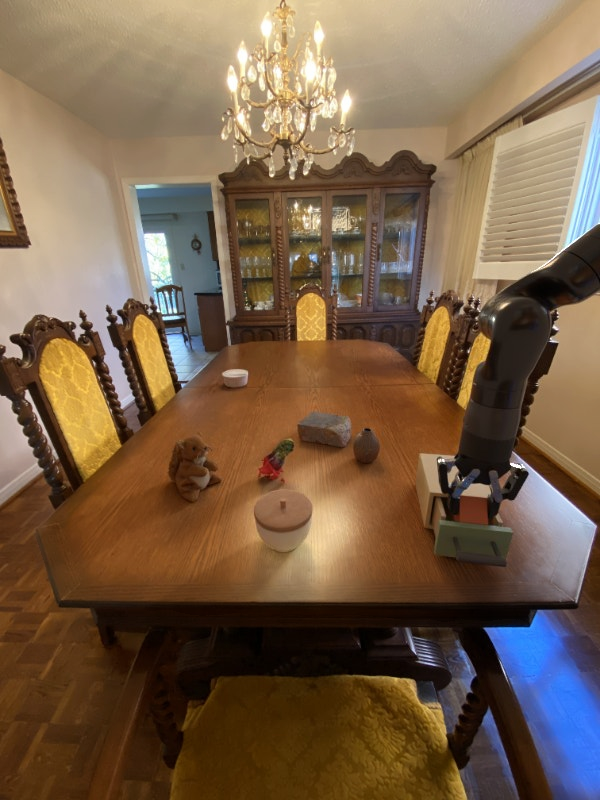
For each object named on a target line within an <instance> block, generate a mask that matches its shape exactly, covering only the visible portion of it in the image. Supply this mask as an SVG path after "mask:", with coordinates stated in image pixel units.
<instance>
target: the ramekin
mask: <svg viewBox="0 0 600 800" xmlns="http://www.w3.org/2000/svg"><path fill="white" fill-rule="evenodd" d="M221 377H222V379H223V383H224V385H225V386H226V387H227V388H231V389H233V388H234V389H235V388H237V389H238V388H242V387H245V386H246V385H247V384H248V377H249V371H248V370H247V369H242V368H241V369H240V368H235V369H228V370H225V371H222V373H221Z"/></svg>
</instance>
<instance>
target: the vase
mask: <svg viewBox="0 0 600 800" xmlns="http://www.w3.org/2000/svg"><path fill="white" fill-rule="evenodd" d="M380 449H381V446H380V441H379V438H378V437H377V436H376V434H375V433H374V430H373V429H372V428H370V427H363V428H362V430H361V431H360V433H358V434H357V436H356V437H355V438H354V440H353V443H352V451H353V454H354V457H355V458H356V459H357V460H358V461H359V462H360V463H364V464H367V463H372V462H374V461H375V460H376V459H377V458H378V456H379V454H380Z"/></svg>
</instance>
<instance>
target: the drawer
mask: <svg viewBox="0 0 600 800" xmlns="http://www.w3.org/2000/svg"><path fill="white" fill-rule="evenodd" d="M447 501H448V497H439V496H434V497H433V504H432V510H431V516H430V517H431V521H432V525H433V529H432V530H433V534H434V538H435V541H434V546H433V552H434V553H433V554H434V555H435V556H440V557H446V558H447V557H449V558H455V559H456V561H457V562H461V563H467V564H475V565H483V566H491V567H499V568H506V567H507V557H508V554H509V551H510V546H511V543H512V539H513V535H514V531H513V530H512V528H511V527H507V526H503V524H504V522H503V520H502V518H501V516H500V513H498V514H497V515H496V516H494V517H493V519H488V525H481V524H472V523H463V522H456V521H453V515H452V513H451V511H449V508H448V505H447Z"/></svg>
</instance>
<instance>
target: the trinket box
mask: <svg viewBox="0 0 600 800" xmlns="http://www.w3.org/2000/svg"><path fill="white" fill-rule="evenodd" d="M253 516H254V521H255V526H256V531H257V534H258V536H259V538H260V540H261V541H262V542H263V543H264V545H266V546H267V547H269V549H271V550H273V551H275V552H279V553H288V552H292V551H294V550H296V549H297V548H298V547H300V546H301V545H302V544H303V543H304V542H305V541H306V539H307V538H308V536H309V533H310V531H311V528H312V522H313V521H312V520H313V503H312V501H311V500H310V498H309V497H308V496H307V495H305V494H304V493H302V492H300V491H298V490H295V489H277V490H272V491H269V492H267V493H266V494H264V495H262V496H261V497H259V499H257V501H256V502H255V504H254V507H253Z"/></svg>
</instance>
